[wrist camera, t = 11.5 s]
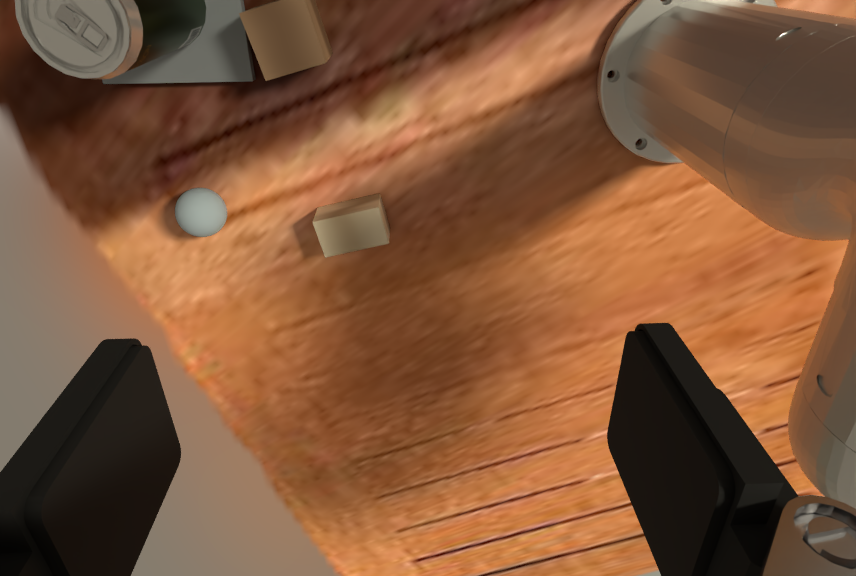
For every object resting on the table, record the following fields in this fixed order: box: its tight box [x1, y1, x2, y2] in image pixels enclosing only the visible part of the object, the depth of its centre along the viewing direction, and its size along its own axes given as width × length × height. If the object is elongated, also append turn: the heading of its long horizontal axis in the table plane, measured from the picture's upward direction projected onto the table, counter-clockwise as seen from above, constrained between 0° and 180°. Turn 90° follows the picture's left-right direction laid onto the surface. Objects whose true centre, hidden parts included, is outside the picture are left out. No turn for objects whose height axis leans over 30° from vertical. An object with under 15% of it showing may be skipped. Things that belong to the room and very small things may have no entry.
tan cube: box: [239, 0, 333, 81], centre depth 37 cm, size 4×4×4 cm
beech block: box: [313, 193, 390, 258], centre depth 44 cm, size 5×3×3 cm, turn 103°
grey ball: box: [175, 188, 227, 237], centre depth 43 cm, size 4×4×4 cm
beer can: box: [15, 0, 206, 80], centre depth 32 cm, size 5×5×12 cm
